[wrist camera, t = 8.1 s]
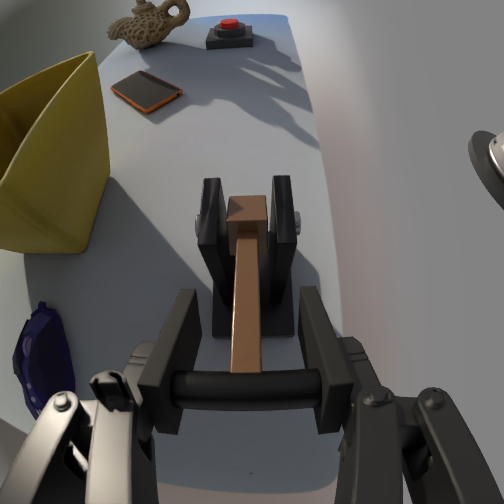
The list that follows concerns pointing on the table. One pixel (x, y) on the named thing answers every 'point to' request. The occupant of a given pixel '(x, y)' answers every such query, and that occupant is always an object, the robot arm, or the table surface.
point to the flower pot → (52, 158)
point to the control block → (229, 37)
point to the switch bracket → (270, 266)
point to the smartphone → (145, 91)
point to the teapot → (149, 23)
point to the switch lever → (246, 335)
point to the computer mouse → (43, 359)
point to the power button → (229, 24)
